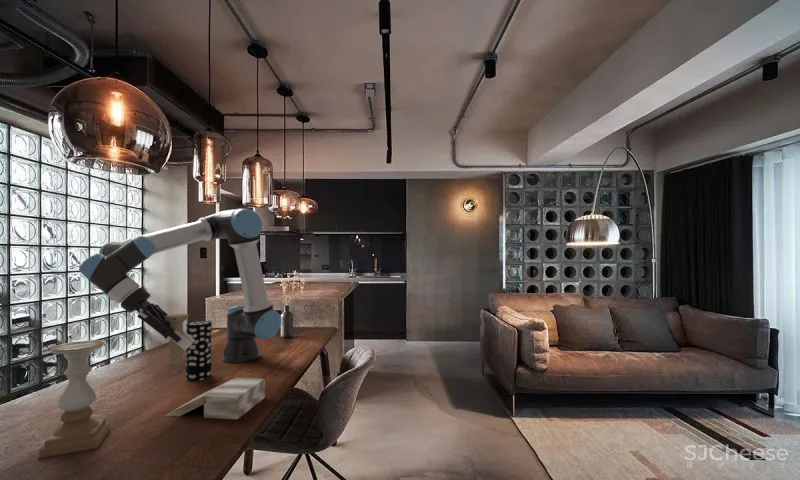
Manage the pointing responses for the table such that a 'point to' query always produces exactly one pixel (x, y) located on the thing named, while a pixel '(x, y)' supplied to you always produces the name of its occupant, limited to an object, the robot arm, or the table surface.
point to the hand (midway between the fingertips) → (190, 345)
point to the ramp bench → (227, 399)
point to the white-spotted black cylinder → (199, 351)
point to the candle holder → (76, 405)
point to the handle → (177, 324)
